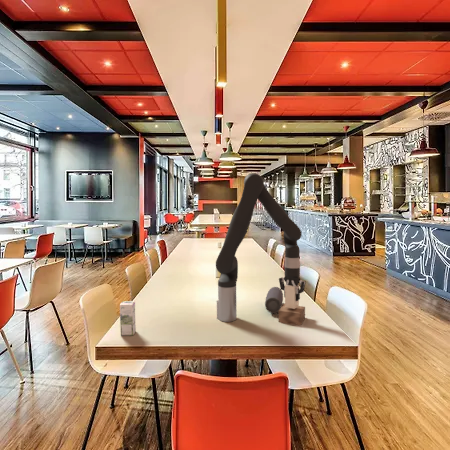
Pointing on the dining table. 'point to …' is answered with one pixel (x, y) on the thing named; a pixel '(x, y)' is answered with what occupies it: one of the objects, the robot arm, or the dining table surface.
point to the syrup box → (127, 318)
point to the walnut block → (292, 315)
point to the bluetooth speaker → (274, 300)
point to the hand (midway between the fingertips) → (291, 299)
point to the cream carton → (290, 297)
